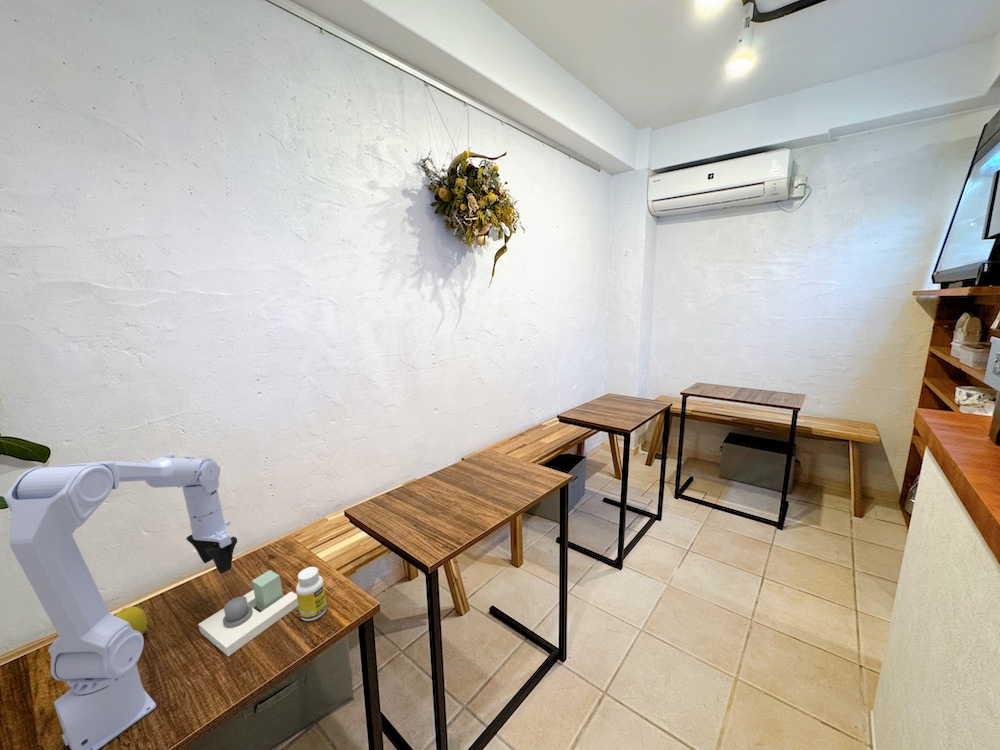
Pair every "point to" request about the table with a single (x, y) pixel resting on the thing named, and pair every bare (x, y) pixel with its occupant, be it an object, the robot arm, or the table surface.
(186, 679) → the table surface
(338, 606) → the table surface
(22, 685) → the table surface
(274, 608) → the notched board
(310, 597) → the supplement bottle
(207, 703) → the table surface
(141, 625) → the lemon
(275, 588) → the block
